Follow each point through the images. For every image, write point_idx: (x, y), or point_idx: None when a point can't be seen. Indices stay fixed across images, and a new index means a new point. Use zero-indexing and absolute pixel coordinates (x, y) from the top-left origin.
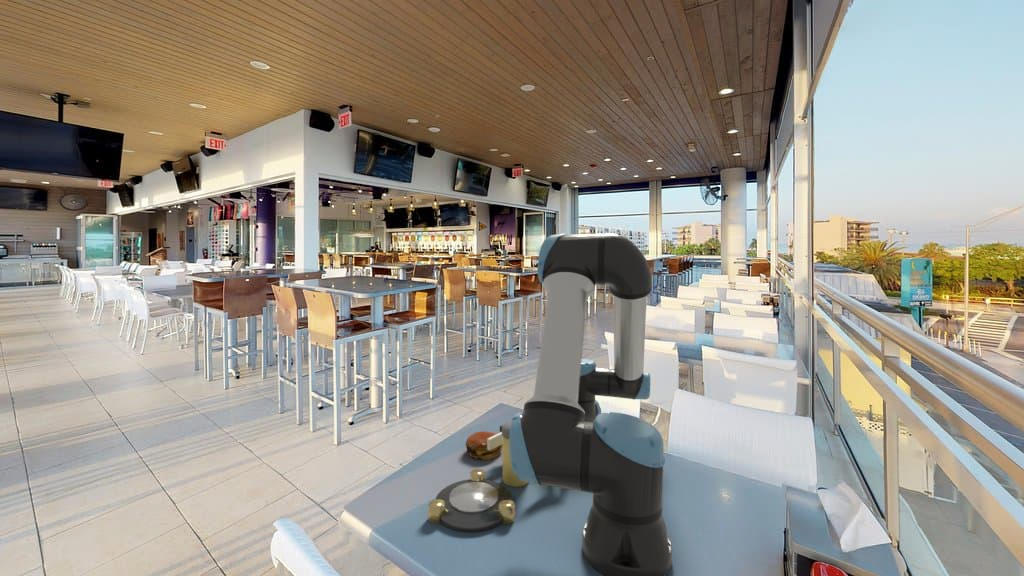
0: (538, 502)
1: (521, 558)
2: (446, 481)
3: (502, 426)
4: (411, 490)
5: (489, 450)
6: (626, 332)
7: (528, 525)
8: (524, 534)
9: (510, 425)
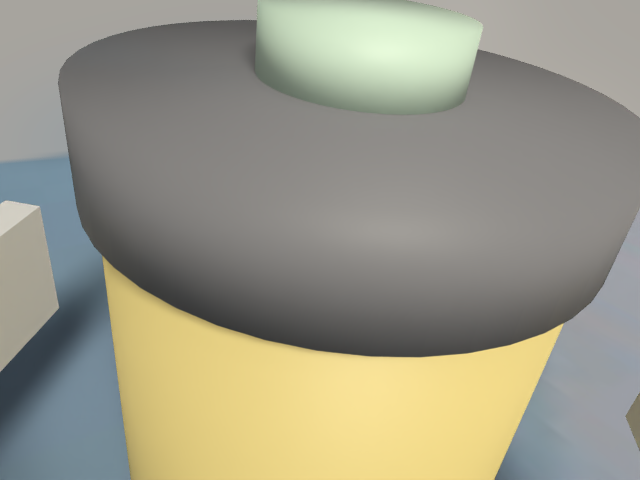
0: (23, 393)
1: (59, 170)
2: (622, 356)
3: (560, 79)
4: (636, 267)
5: (627, 416)
6: None
7: (59, 256)
8: (68, 224)
9: (501, 96)
